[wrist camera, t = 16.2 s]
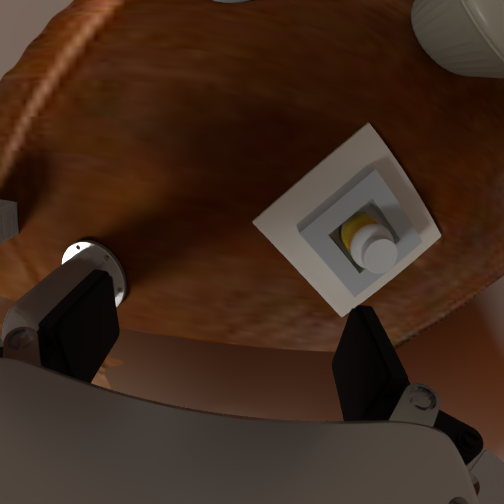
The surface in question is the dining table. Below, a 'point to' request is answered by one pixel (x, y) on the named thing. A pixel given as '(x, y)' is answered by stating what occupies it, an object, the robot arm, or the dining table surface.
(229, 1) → the cylinder vase
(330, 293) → the socket holder
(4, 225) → the skincare box
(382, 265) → the supplement bottle
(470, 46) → the canister
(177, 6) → the dining table surface
